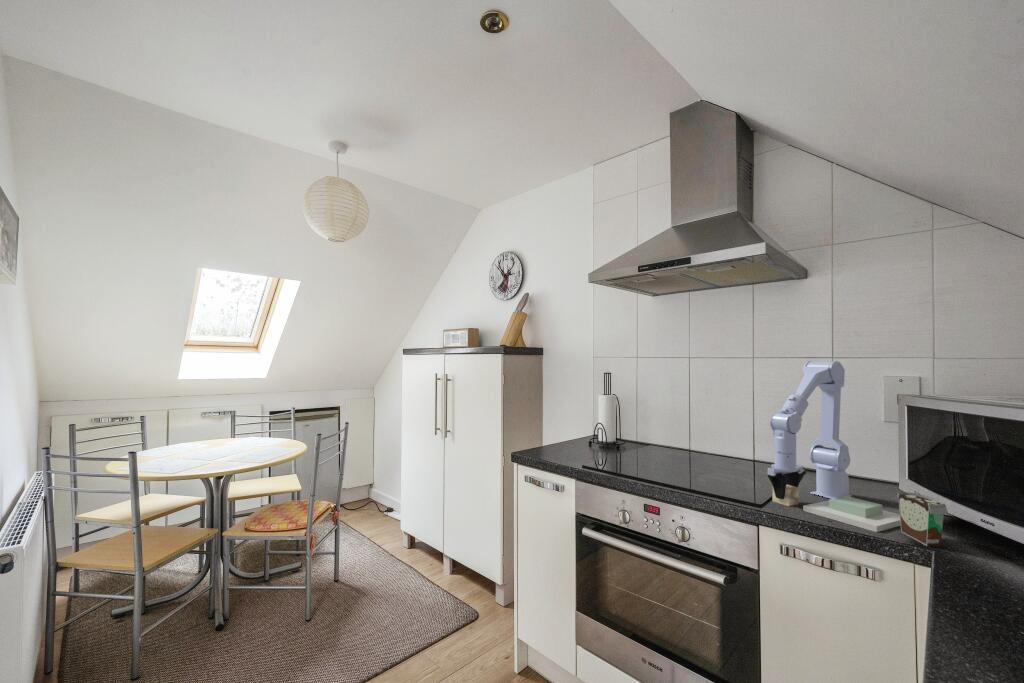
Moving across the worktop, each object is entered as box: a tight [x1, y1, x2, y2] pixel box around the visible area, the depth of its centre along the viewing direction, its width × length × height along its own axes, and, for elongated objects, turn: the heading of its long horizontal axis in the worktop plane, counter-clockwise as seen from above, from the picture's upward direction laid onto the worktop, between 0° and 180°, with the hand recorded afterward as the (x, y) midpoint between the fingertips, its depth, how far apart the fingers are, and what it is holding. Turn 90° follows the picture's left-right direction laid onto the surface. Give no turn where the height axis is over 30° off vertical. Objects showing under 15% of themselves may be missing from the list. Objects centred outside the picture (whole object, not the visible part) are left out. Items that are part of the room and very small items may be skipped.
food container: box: [896, 490, 948, 547], centre depth 110 cm, size 12×6×10 cm, turn 168°
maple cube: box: [771, 484, 800, 507], centre depth 137 cm, size 5×5×5 cm
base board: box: [802, 496, 901, 533], centre depth 126 cm, size 18×18×4 cm
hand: (785, 497), depth 137 cm, fingers closed on maple cube, 5 cm apart
